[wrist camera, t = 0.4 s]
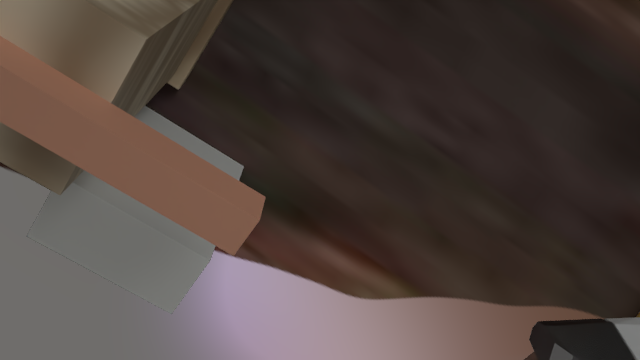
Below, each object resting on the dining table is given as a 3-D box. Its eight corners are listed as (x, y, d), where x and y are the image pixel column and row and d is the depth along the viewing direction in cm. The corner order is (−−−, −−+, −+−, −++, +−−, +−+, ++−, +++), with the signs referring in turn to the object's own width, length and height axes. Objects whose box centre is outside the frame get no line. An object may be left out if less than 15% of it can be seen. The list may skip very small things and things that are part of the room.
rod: (-236, -50, 27) (-289, -45, 24) (-223, -100, 26) (-277, -100, 24) (241, 230, 32) (233, 255, 30) (265, 197, 31) (259, 220, 29)
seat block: (108, 148, 59) (26, 236, 43) (135, 100, 56) (59, 175, 41) (213, 210, 61) (171, 314, 46) (243, 166, 59) (210, 260, 44)
